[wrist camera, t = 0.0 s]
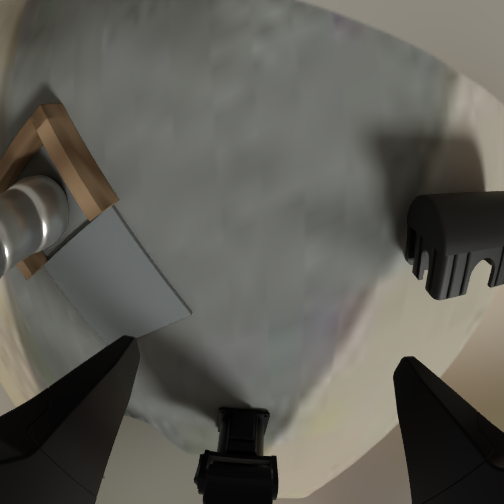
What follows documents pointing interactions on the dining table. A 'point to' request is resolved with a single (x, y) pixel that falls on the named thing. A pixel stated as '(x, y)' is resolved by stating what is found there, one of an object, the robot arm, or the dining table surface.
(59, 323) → the dining table surface
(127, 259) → the felt coaster
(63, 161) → the walnut collar
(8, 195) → the plastic bottle
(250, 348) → the dining table surface
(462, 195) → the end cap
